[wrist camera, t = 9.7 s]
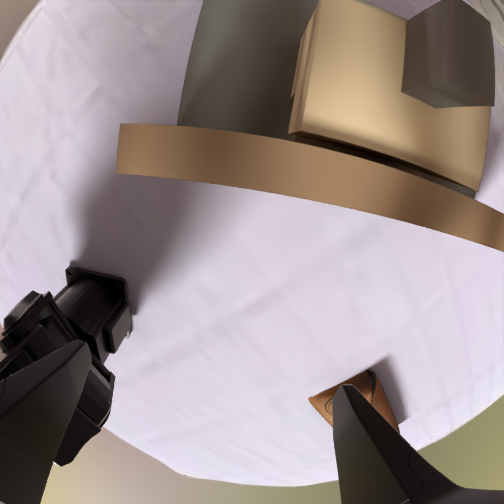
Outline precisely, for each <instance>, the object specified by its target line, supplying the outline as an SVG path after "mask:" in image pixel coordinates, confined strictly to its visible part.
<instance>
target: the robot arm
mask: <svg viewBox="0 0 504 504" xmlns="http://www.w3.org/2000/svg"><path fill="white" fill-rule="evenodd" d="M65 272H66V279H67V286H65V287H64V288H63V289H62V290H61V291H60V292H59V293H58V294H57V295H56V296H55V297H54V298H53V296H52V294H51V293H50V291H48V292H47V293H45V294H44V295H42V294H38V293H37V292H35V291H31V292H30V293H29V294H28V295H27V296H25V297H24V298H23V299H22V300H21V301H20V302H19V303H18V304H17V305H16V306H15V307H14V308H13V309H12V310H11V311H10V313H9V314H8V315H7V316H6V317H5V318H4V328H3V330H2V332H1V335H0V504H40V503H41V499H42V496H43V492H44V489H45V486H46V483H47V479H48V476H49V473H50V470H51V468H52V465H53V462H54V463H55V464H56V465H58V466H64V465H66V464H69V463H71V462H72V461H73V460H74V458H75V457H76V455H77V454H78V452H79V451H80V450H81V448H82V447H83V446H84V444H85V443H86V442H87V441H89V440H90V439H91V438H92V437H93V436H95V435H96V434H97V433H99V432H100V431H101V427H102V426H103V425H104V424H105V422H106V421H107V419H108V417H109V415H110V411H111V404H112V396H113V389H114V382H115V376H114V374H113V373H112V372H109V370H108V369H107V368H106V367H105V366H104V365H103V364H104V363H105V361H106V359H107V357H108V356H109V354H110V353H112V354H114V353H116V351H117V350H118V348H119V346H120V344H121V343H122V341H123V339H124V338H129V336H130V334H131V331H130V327H131V315H130V304H129V302H128V301H127V288H126V282H125V280H124V279H123V278H120V277H115V276H111V275H106V274H102V273H97V272H93V271H88V270H84V269H80V268H76V267H72V266H69V267H68V268H67V269H66V270H65ZM70 272H71V273H70ZM119 283H121V284H122V285H120V284H119ZM332 414H333V440H334V448H335V455H336V462H337V469H338V477H339V485H340V493H341V502H342V504H504V490H481V489H470V488H464V487H461V486H458V485H456V484H455V483H453V482H452V481H451V480H449V479H448V478H447V477H445V476H444V475H443V474H442V473H440V472H439V471H438V470H436V469H435V468H434V467H433V466H432V465H431V464H429V463H428V462H427V461H426V460H425V459H424V458H422V456H421V455H419V453H418V452H417V451H416V450H415V449H414V448H413V447H411V445H410V444H409V443H408V442H407V441H406V440H405V439H404V438H403V437H402V436H401V435H400V434H399V433H398V432H397V431H396V430H395V429H394V428H393V427H392V425H391V424H390V423H389V422H388V421H387V420H386V419H385V418H384V417H383V416H382V415H381V414H380V413H379V412H378V411H377V410H376V409H375V408H374V407H373V406H372V404H371V403H370V402H369V401H368V400H367V399H366V398H365V397H364V396H363V395H362V394H361V393H360V392H359V391H358V390H357V389H356V387H355V386H354V385H352V384H342V385H341V386H340V387H339V389H338V391H337V392H336V394H335V396H334V398H333V400H332Z"/></svg>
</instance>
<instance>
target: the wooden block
mask: <svg viewBox="0 0 504 504" xmlns="http://www.w3.org/2000/svg"><path fill="white" fill-rule="evenodd" d="M291 99H294V102H293V108H292V113H291V119H290V124H289V130H288V134H291V135H296V136H301V137H305V138H310V139H314V140H318V141H322V142H327V143H331V144H334V145H338V146H342V147H346V148H349V149H353V150H356V151H360V152H363V153H367V154H370V155H373V156H376V157H380V158H383V159H386V160H389V161H392V162H395V163H398V164H400V165H403V166H406V167H409V168H412V169H414V170H417V171H420V172H422V173H425V174H427V175H430V176H433V177H436V178H439V179H442V180H445V181H448V182H452V183H455V184H457V185H460V186H463V187H466V188H469V189H472V190H474V191H477V192H478V190H479V185H480V181H481V176H482V171H483V166H484V160H485V154H486V148H487V141H488V133H489V124H490V112H491V106H494V99H495V65H494V49H493V38H492V30H491V23H490V21H489V20H488V19H486V18H485V17H484V16H483V15H481V14H480V13H479V12H477V11H476V10H475V9H474V8H472V7H471V6H469V5H468V4H467V3H465V2H464V1H462V0H441V1H439V2H437V3H436V4H434V5H432V6H431V7H429V8H427V9H426V10H424V11H422V12H421V13H419V14H418V15H416V16H415V17H413V18H411V19H410V20H406V19H404V18H402V17H399V16H397V15H395V14H393V13H390V12H388V11H386V10H383V9H381V8H378V7H376V6H373V5H371V4H368V3H365V2H363V1H360V0H319V2H318V4H317V7H316V9H315V11H314V13H313V15H312V17H311V19H310V21H309V23H308V26H307V28H306V30H305V32H304V34H303V36H302V39H301V42H300V48H299V54H298V60H297V65H296V71H295V77H294V82H293V88H292V94H291Z"/></svg>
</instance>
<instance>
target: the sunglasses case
mask: <svg viewBox="0 0 504 504" xmlns="http://www.w3.org/2000/svg"><path fill="white" fill-rule="evenodd" d="M342 384H352V385H354V386H355V387H356V389H357V390H358V391H359V392H360V393H361V394H362V395H363V396H364V397H365V398H366V399H367V400H368V401H369V402H370V403H371V404H372V406H373V407H374V408H375V409H376V410H377V411H378V412H379V413H380V414H381V415H382V416H383V417H384V418H385V419H386V420H387V421H388V422H389V423H390V424H391V425H392V427H393V428H394V429H395V430H396V431H397V432H398V433H399V434H400V431H399V427H398V424H397V422H396V419H395V417H394V414H393V412H392V409H391V407H390V405H389V402H388V400H387V397H386V395H385V393H384V390H383V388H382V386H381V383H380V382H379V379H378V378H377V376H376V374H375V373H374V372H372V371H370V370H367V371H365V372H363V373H361V374H359V375H357V376H355V377H353V378H351V379H349V380H347V381H345V382H343V383H340V384H338V385H336V386H334V387H332V388H330V389H328V390H325V391H323V392H321V393H319V394H317V395H315V396H313V397H310V398H308V400H309V401H310V403H311V404H312V405H313V407H314V408H315V409H316V410H317V411H318V412H319V413H320V414H321V415H322V417H323V418H324V419H325V420H326V421H327V422H328V423H329V424H330V425H331V426H332V427H333V414H332V400H333V398H334V396H335V394H336V392H337V391H338V389H339V387H340V386H341V385H342Z"/></svg>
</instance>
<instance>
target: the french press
mask: <svg viewBox="0 0 504 504" xmlns="http://www.w3.org/2000/svg"><path fill="white" fill-rule="evenodd" d="M470 2H471V4H472V6H473V8H474V9H475V10H476V11H477V12H479V13H480V14H481V15H483V16H484V17H485V18H486V19H488V20H489V21H490V23H491V30H492V36H493V37H494V38H495V39H496V40H497V41H498V42H499V43H500V44H501V45H502V46H503V47H504V0H470Z"/></svg>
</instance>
